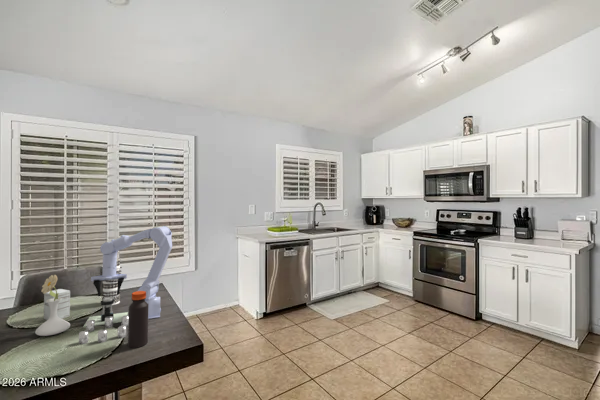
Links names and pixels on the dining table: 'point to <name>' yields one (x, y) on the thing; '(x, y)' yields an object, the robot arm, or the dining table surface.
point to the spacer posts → (103, 333)
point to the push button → (106, 308)
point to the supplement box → (63, 305)
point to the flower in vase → (52, 311)
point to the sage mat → (116, 319)
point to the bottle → (138, 320)
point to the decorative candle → (112, 286)
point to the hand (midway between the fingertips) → (109, 294)
